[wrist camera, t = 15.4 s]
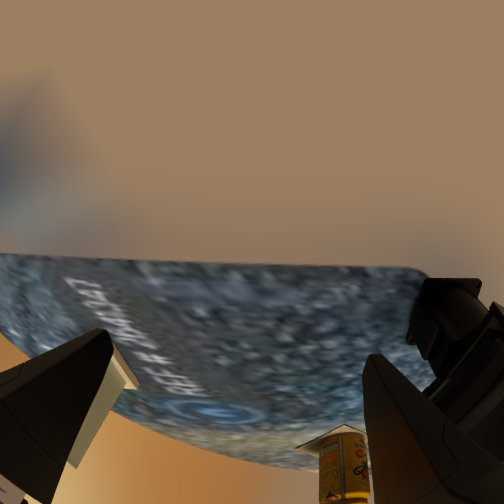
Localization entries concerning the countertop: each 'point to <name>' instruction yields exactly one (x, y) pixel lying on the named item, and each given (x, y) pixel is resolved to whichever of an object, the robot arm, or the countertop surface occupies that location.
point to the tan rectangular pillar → (97, 413)
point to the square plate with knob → (124, 370)
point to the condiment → (341, 466)
